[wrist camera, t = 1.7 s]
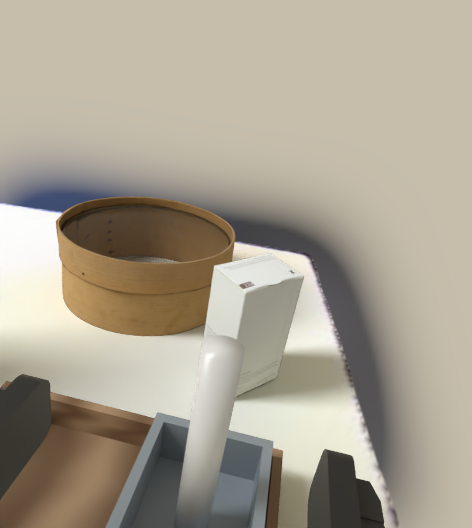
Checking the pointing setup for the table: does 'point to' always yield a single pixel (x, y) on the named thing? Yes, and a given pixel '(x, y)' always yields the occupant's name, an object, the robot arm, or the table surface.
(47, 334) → the table surface
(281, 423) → the table surface
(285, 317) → the skincare box
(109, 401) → the table surface
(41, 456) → the bay
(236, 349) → the tray with upright post
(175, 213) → the steamer basket
